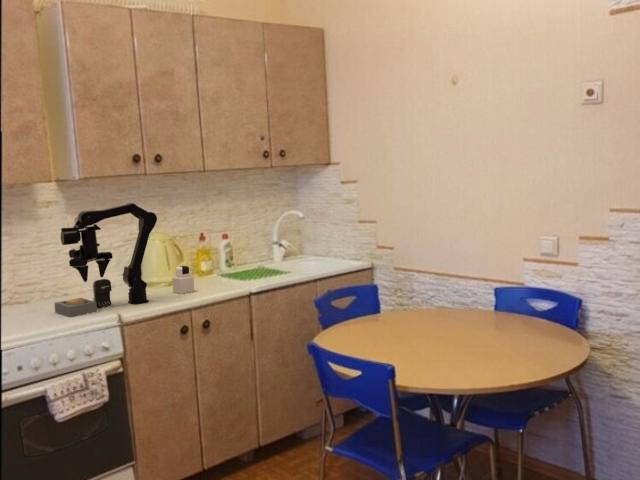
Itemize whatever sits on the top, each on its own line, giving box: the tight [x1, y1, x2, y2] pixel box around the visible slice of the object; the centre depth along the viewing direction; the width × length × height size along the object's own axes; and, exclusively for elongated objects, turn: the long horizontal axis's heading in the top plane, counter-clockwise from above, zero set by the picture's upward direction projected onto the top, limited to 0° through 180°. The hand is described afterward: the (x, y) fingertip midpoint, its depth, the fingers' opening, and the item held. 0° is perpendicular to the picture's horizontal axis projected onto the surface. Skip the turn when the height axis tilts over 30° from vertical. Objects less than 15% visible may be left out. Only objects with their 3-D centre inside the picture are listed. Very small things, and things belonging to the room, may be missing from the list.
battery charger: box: [92, 278, 112, 309], centre depth 254 cm, size 7×4×11 cm, turn 143°
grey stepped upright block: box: [171, 265, 195, 295], centre depth 279 cm, size 7×7×12 cm
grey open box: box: [53, 297, 98, 318], centre depth 246 cm, size 11×14×4 cm
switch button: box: [65, 298, 85, 306], centre depth 246 cm, size 5×6×2 cm
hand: (93, 279), depth 249 cm, fingers open, 9 cm apart
